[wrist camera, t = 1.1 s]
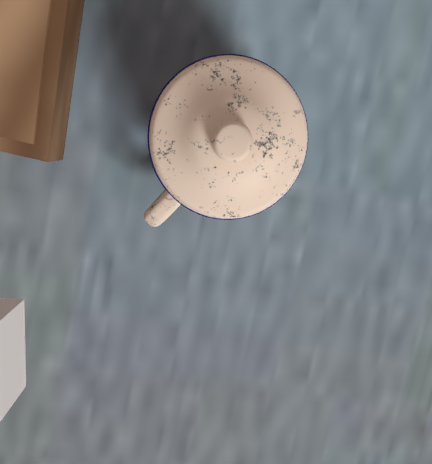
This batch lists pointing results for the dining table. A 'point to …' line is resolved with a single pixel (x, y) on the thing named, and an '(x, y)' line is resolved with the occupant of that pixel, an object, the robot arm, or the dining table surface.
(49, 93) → the walnut base
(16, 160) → the dining table surface
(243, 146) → the teacup with lid
